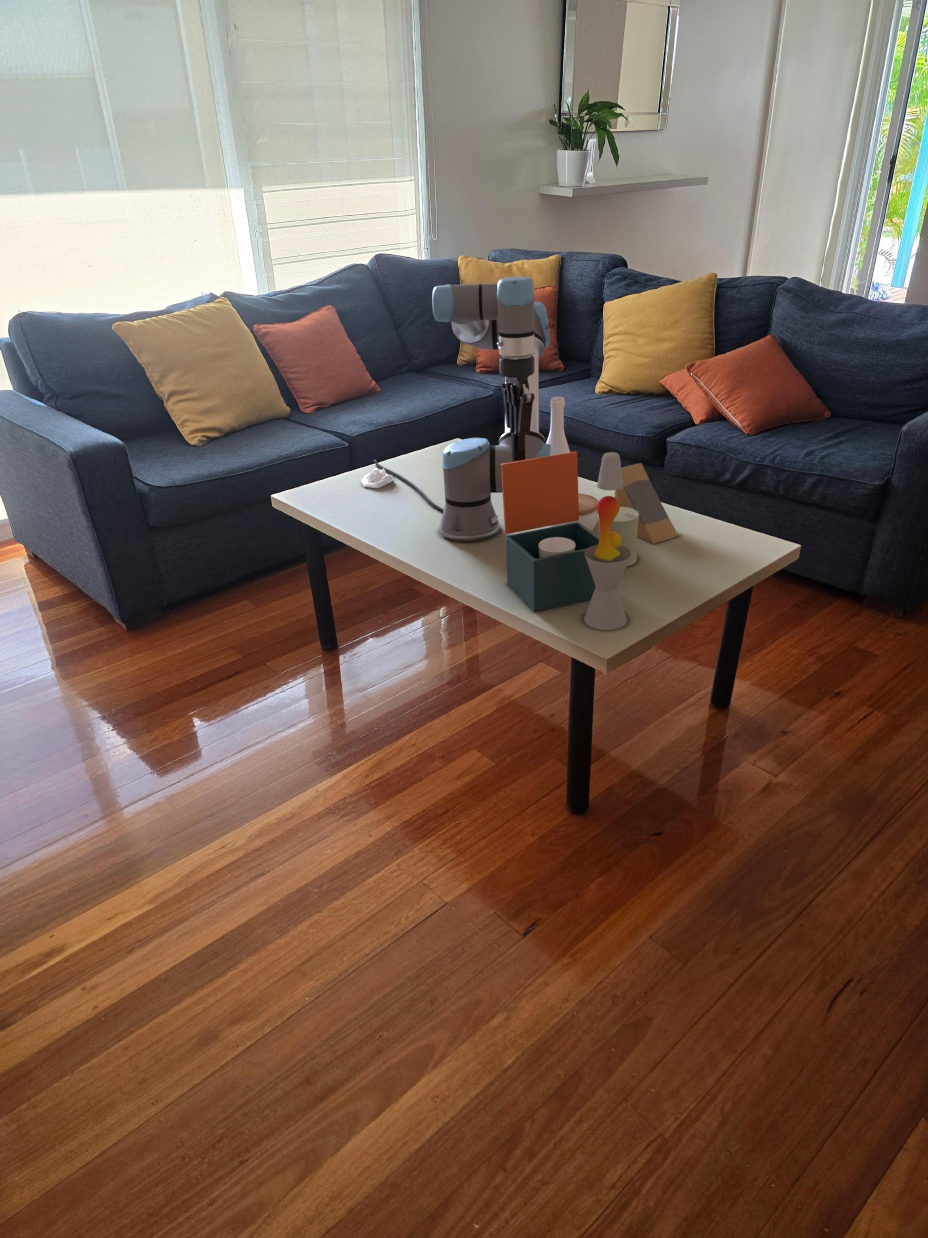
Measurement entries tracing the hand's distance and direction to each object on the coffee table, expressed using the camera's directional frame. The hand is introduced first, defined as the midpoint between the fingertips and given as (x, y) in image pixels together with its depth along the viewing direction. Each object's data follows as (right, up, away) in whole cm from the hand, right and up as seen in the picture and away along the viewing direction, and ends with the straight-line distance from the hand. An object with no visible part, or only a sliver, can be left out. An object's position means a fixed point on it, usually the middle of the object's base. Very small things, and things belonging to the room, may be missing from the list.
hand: (518, 462), depth 189 cm
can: (+24, -22, +7) cm, 33 cm away
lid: (+4, -8, -9) cm, 13 cm away
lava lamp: (+17, -36, -18) cm, 43 cm away
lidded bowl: (+15, -15, +20) cm, 29 cm away
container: (+8, -29, -5) cm, 31 cm away
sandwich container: (+33, -13, +21) cm, 42 cm away
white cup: (+8, -29, -5) cm, 30 cm away
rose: (-38, +5, +62) cm, 73 cm away
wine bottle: (+12, -6, +36) cm, 39 cm away
